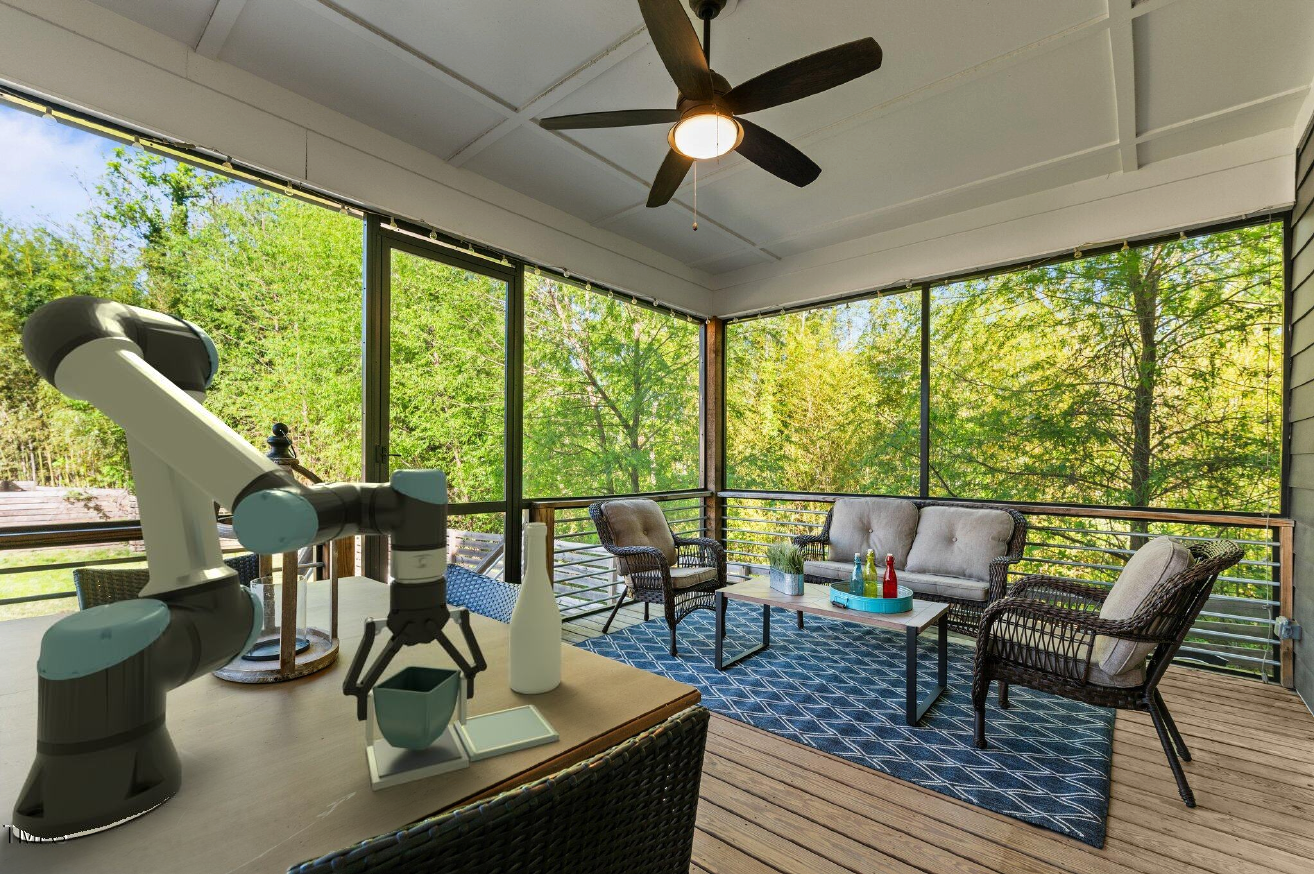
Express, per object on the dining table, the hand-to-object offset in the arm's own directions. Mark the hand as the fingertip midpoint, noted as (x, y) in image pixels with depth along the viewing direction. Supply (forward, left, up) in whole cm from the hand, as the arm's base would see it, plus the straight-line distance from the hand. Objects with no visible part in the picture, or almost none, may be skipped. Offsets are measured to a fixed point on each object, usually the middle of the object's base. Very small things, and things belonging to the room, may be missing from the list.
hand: (417, 731), depth 84 cm
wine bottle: (+23, +17, -4) cm, 29 cm away
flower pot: (0, 0, -2) cm, 2 cm away
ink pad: (0, 0, -4) cm, 4 cm away
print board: (+13, +1, -4) cm, 14 cm away
